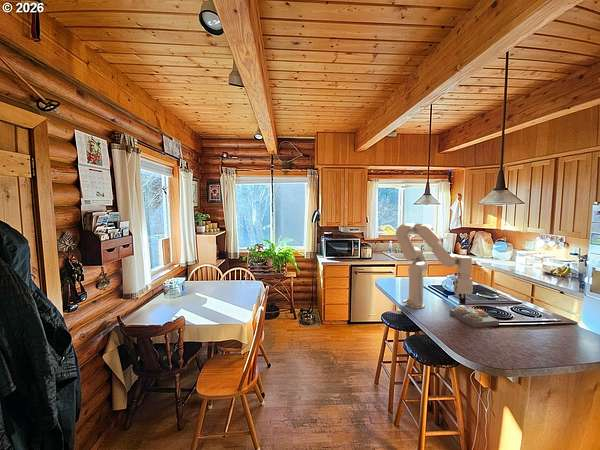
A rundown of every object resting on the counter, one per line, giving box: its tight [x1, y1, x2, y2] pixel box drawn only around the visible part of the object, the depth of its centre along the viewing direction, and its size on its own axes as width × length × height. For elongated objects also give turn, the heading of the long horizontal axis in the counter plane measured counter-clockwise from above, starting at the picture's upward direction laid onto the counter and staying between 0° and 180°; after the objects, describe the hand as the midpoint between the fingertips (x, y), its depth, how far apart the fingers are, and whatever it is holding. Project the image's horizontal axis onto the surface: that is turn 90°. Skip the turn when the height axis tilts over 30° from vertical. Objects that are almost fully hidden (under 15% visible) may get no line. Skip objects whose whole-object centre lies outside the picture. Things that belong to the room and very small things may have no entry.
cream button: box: [457, 304, 467, 311], centre depth 173 cm, size 4×4×2 cm
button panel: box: [449, 307, 500, 328], centre depth 169 cm, size 17×20×4 cm
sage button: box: [470, 311, 478, 318], centre depth 163 cm, size 4×4×2 cm
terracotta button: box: [476, 308, 485, 314], centre depth 170 cm, size 4×4×2 cm
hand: (462, 303), depth 173 cm, fingers closed
